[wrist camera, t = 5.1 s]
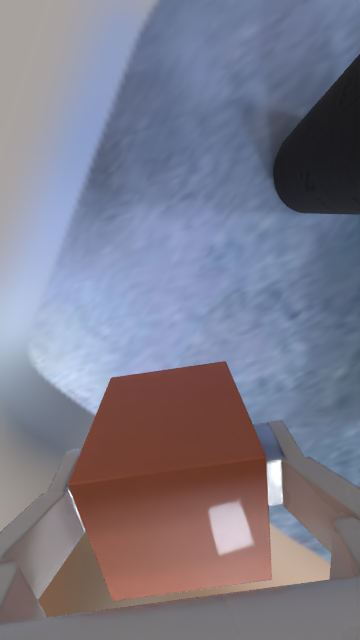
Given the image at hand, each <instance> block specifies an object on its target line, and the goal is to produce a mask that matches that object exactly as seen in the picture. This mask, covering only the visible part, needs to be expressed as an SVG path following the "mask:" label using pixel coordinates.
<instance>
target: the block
mask: <svg viewBox="0 0 360 640" xmlns="http://www.w3.org/2000/svg"><path fill="white" fill-rule="evenodd" d="M68 487H69V489H70V492H71V494H72V497H73V500H74V502H75V505H76V507H77V510H78V512H79V515H80V518H81V520H82V523H83V525H84V528H85V531H86V533H87V535H88V538H89V541H90V544H91V546H92V549H93V551H94V554H95V556H96V559H97V561H98V564H99V567H100V569H101V572H102V574H103V577H104V580H105V582H106V585H107V587H108V590H109V593H110V595H111V598H112V600H113V601H118V600H125V599H133V598H140V597H148V596H155V595H162V594H170V593H177V592H185V591H192V590H200V589H207V588H215V587H222V586H229V585H237V584H244V583H251V582H259V581H267V580H271V579H272V575H271V550H270V527H269V503H268V480H267V457H266V454H265V452H264V450H263V447H262V445H261V443H260V440H259V438H258V436H257V433H256V431H255V429H254V426H253V424H252V422H251V419H250V417H249V415H248V412H247V410H246V408H245V405H244V403H243V401H242V398H241V396H240V394H239V391H238V389H237V387H236V384H235V382H234V380H233V377H232V375H231V373H230V370H229V368H228V366H227V363H226V362H225V361H224V362H217V363H210V364H203V365H196V366H189V367H183V368H176V369H169V370H162V371H155V372H148V373H141V374H134V375H127V376H120V377H113V378H111V379H110V382H109V384H108V387H107V389H106V392H105V394H104V396H103V399H102V401H101V404H100V406H99V409H98V411H97V414H96V416H95V419H94V421H93V424H92V426H91V429H90V432H89V434H88V436H87V438H86V441H85V444H84V446H83V448H82V451H81V453H80V456H79V458H78V461H77V463H76V465H75V468H74V470H73V473H72V475H71V478H70V480H69V483H68Z"/></svg>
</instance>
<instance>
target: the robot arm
mask: <svg viewBox="0 0 360 640" xmlns="http://www.w3.org/2000/svg"><path fill="white" fill-rule="evenodd" d="M253 426H254V429H255V431H256V433H257V436H258V438H259V440H260V443H261V445H262V447H263V450H264V452H265V454H266V457H267V480H268V503H269V505H279V504H283V506H284V507H285V508H286V509H287V510H288V511H289V512H290V513H291V514H292V515H293V516H294V517H295V518H296V519H297V520H298V521H299V522H300V523H301V524H302V525H303V526H304V527H305V528H306V529H307V530H308V531H309V532H310V533H311V534H312V535H313V536H314V537H315V538H316V539H317V540H318V541H319V542H320V543H321V544H322V545H323V546H324V547H325V548H326V549H327V550H328V551H329V552H330V553H331V554H332V556H331V568H330V580H324V581H316V582H308V583H301V584H293V585H286V586H279V587H271V588H264V589H256V590H249V591H241V592H233V593H226V594H218V595H211V596H203V597H196V598H188V599H181V600H174V601H166V602H159V603H151V604H144V605H137V606H129V607H121V608H114V609H106V610H99V611H92V612H85V613H77V614H70V615H61V616H54V617H46V614H45V612H44V611H43V609H42V607H41V605H40V603H39V602H38V599H39V597H40V596H41V595H42V593H43V592H44V590H45V589H46V587H47V586H48V584H49V583H50V582H51V580H52V579H53V577H54V576H55V575H56V573H57V572H58V570H59V569H60V567H61V566H62V565H63V563H64V562H65V560H66V559H67V557H68V556H69V554H70V553H71V552H72V550H73V549H74V547H75V546H76V544H77V543H78V542H79V540H80V539H81V537H82V536H83V534H84V531H85V528H84V525H83V523H82V520H81V518H80V515H79V512H78V510H77V507H76V505H75V502H74V500H73V497H72V494H71V492H70V489H69V487H68V483H69V480H70V478H71V475H72V473H73V470H74V468H75V465H76V463H77V461H78V458H79V456H80V453H81V451H82V449H74V450H69V451H67V452H66V454H65V455H64V458H63V460H62V462H61V464H60V466H59V468H58V470H57V472H56V474H55V476H54V478H53V481H52V483H51V485H50V487H49V489H48V491H47V493H44V494H41V495H40V496H39V497H38V498H37V499H36V500H35V501H34V502H33V503H31V504H30V505H29V506H28V507H27V508H26V509H25V510H24V511H23V512H22V513H20V514H19V515H18V516H17V517H16V518H15V519H14V520H13V521H12V522H11V523H10V524H8V525H7V526H6V527H5V528H4V529H3V530H2V531H1V532H0V640H360V488H359V487H357V486H355V485H354V484H352V483H351V482H349V481H347V480H346V479H344V478H343V477H341V476H339V475H338V474H336V473H335V472H333V471H331V470H330V469H328V468H327V467H325V466H323V465H322V464H320V463H319V462H317V461H315V460H314V459H312V458H311V457H304V455H303V454H302V452H301V450H300V449H299V447H298V445H297V444H296V442H295V440H294V439H293V437H292V435H291V434H290V432H289V430H288V429H287V427H286V425H285V424H284V422H283V421H281V420H278V421H271V422H267V423H259V424H253Z"/></svg>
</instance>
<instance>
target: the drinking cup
mask: <svg viewBox="0 0 360 640" xmlns="http://www.w3.org/2000/svg"><path fill="white" fill-rule="evenodd" d="M274 183H275V187H276V190H277V193H278V195H279V197H280V198H281V200H282V201H283V202H284V203H285V204H286V205H287V206H288V207H290V208H291V209H293V210H295V211H298V212H301V213H319V214H360V54H359V55H358V56H357V58H356V59H355V60H354V61H353V62H352V63H351V65H350V66H349V67H348V68H347V69H346V70H345V71H344V73H343V74H342V75H341V76H340V77H339V78H338V80H337V81H336V82H335V83H334V84H333V85H332V86H331V88H330V89H329V90H328V91H327V92H326V93H325V94H324V96H323V97H322V98H321V99H320V100H319V101H318V103H317V104H316V105H315V106H314V107H313V108H312V109H311V111H310V112H309V113H308V114H307V115H306V116H305V118H304V119H303V120H302V121H301V122H300V123H299V124H298V126H297V127H296V128H295V129H294V130H293V131H292V132H291V134H290V135H289V136H288V137H287V138H286V140H285V141H284V142H283V144H282V146H281V147H280V149H279V152H278V154H277V157H276V160H275V165H274Z"/></svg>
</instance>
